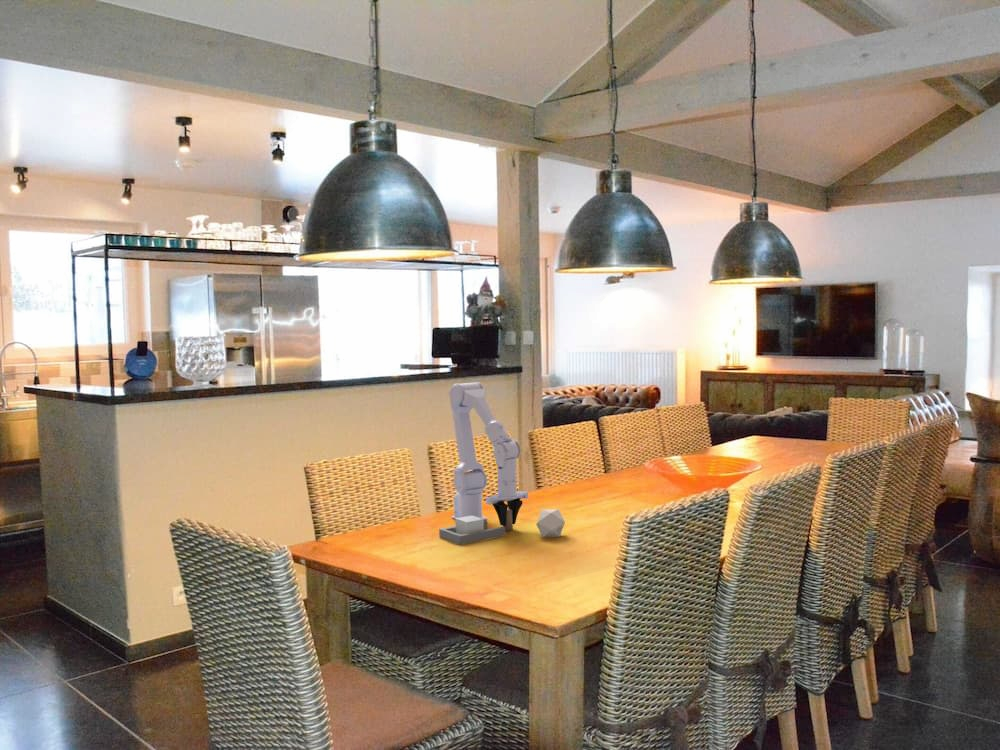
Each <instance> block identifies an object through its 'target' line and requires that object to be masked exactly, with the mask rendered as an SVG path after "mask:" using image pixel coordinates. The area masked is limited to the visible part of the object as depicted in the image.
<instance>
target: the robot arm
mask: <svg viewBox="0 0 1000 750" xmlns="http://www.w3.org/2000/svg"><path fill="white" fill-rule="evenodd" d="M448 395H449V402H450V409H451V413H452V420H453V426H454V432H455V439H456V446H457V447H456V448H457V453H458V459H459V460H458V461H459V463H458V465H457V466H456V467H455V468H454V470H453V486H454V489H455V490H456V493H455V494H454V497H453V515H452V516H451V518H452V519H454V520H455V518H461V517H466V516H476V517H479V518H482V519H484V521H486V520H487V521H488V517H486V516H483V497H482V496H483V493H482V492H484V489H485V488H486V486H487V485H488V478H487V475H486V473H485V469H484V465H483V464H481V463H480V462H479V461H477V457H476V450H475V443H474V438H473V430H472V423H471V416H470V413H471V411H472V409H474V410H475V412H476V414H477V415H478V417H479V418H480V419H481V421H482V422H483V424H484V426H485V428H484V433H485V434H486V436H487V438H488V440H489V441H490V443H491V445H492V446H493V450H492V453H493V456H494V457H493V458H494V459H495V464H496V467H497V494H494V495H491V496H487V497H485V503H486V505H489V506H490V505H492V506H493V508H494V510H495V512H496V514H497V519H498V521H499V524H500V526H501V527H503V526H506V514H507V509H511V510H512V517H513V525H516V522H517V517H518V514H519V511H520V509H521V507H522V505H523V499H529V491H526V490H525V491H524V490H523V491H522V490H521V491H517V459H518V458H519V456H520V455H521V448H520V445H519V442H518V441H517V440H516V439H513V437H510V435H509V433H508V432H507V430H506V428H505V427H504V425H503V423H502V422H501V421H499V420H496V419H495V417H494V414H493V413H492V410H491V408H490V406H489V404H488V402H487V400H486V390H485V389H484V386H483V384H482V383H481V382H479V381H474V382H465V383H454V384H453V385H452V386H451V387H450V390H449V391H448ZM505 502H506V503H505Z"/></svg>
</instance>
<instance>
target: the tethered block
mask: <svg viewBox="0 0 1000 750" xmlns="http://www.w3.org/2000/svg"><path fill="white" fill-rule="evenodd" d="M454 520H455V526H456V533H457V534H460V535H461V534H466V533H471V532H477V531H482V530H484V521H485V520H484V519H482V518H479V517H476V516H466V517H461V518H455V519H454ZM513 525H514V524H513V517H512V510H511V509H508V508H507V514H506V526H502V527H505V532H510V531H513V527H514V526H513Z"/></svg>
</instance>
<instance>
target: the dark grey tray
mask: <svg viewBox="0 0 1000 750" xmlns="http://www.w3.org/2000/svg"><path fill="white" fill-rule="evenodd" d="M487 521H488V520H487ZM487 521H486V520H484V530H482V531H477V532H471V533H466V534H461V535H460V534H457V533H456V525H453V526H448V527H442V528H439V534H438V535H439V538H441V539H443V540H446V541H448V542H450V543H453V544H456V545H459V546H461V545H466V544H472V543H475V542H482V541H486V540H491V539H497V538H501V537H506V531H505V527H503V526H499V527H494V528H488V522H487Z"/></svg>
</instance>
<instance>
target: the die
mask: <svg viewBox="0 0 1000 750" xmlns="http://www.w3.org/2000/svg"><path fill="white" fill-rule="evenodd" d="M565 523H566V520H565V519H564V517H563V515H562V513H561V510H560V509H559V508H557V509H556V508H555V509H553V508H552V509H541V510H540V513H539V515H538V519H537V522H536V527H537V529H538V532H539V533H540V536H541V537H542V538H560V537H561V534H562V531H563V528H564V526H565Z"/></svg>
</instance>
